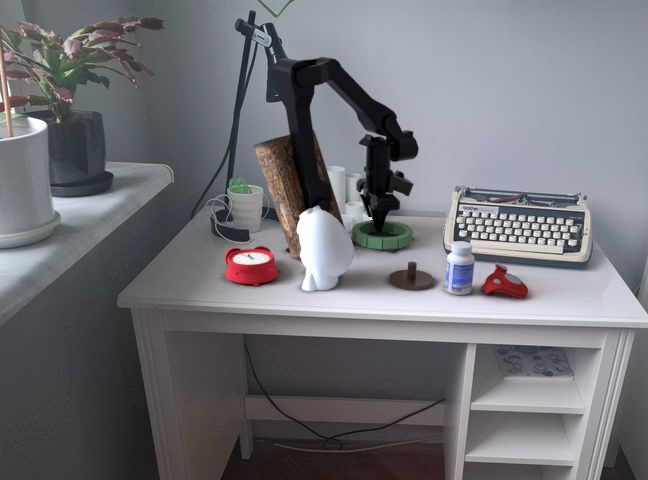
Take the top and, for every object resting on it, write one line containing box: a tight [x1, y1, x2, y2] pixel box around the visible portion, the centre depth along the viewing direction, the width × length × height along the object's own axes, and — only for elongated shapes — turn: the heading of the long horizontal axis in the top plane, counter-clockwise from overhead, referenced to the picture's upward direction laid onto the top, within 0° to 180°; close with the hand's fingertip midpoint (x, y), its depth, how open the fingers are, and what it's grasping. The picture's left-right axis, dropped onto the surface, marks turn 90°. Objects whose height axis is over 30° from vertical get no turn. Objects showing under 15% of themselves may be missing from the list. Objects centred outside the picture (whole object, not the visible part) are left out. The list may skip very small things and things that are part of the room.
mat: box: [352, 231, 415, 254], centre depth 150 cm, size 11×11×1 cm
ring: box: [351, 219, 414, 250], centre depth 150 cm, size 14×14×2 cm
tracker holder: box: [480, 261, 529, 299], centre depth 128 cm, size 12×4×10 cm
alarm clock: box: [224, 245, 279, 287], centre depth 129 cm, size 10×6×15 cm
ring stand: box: [388, 261, 435, 291], centre depth 129 cm, size 9×9×4 cm
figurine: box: [297, 206, 355, 292], centre depth 125 cm, size 11×11×15 cm
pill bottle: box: [444, 240, 476, 296], centre depth 125 cm, size 5×5×10 cm
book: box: [253, 129, 346, 260], centre depth 140 cm, size 16×6×25 cm, turn 154°
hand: (376, 228), depth 155 cm, fingers open, 5 cm apart
